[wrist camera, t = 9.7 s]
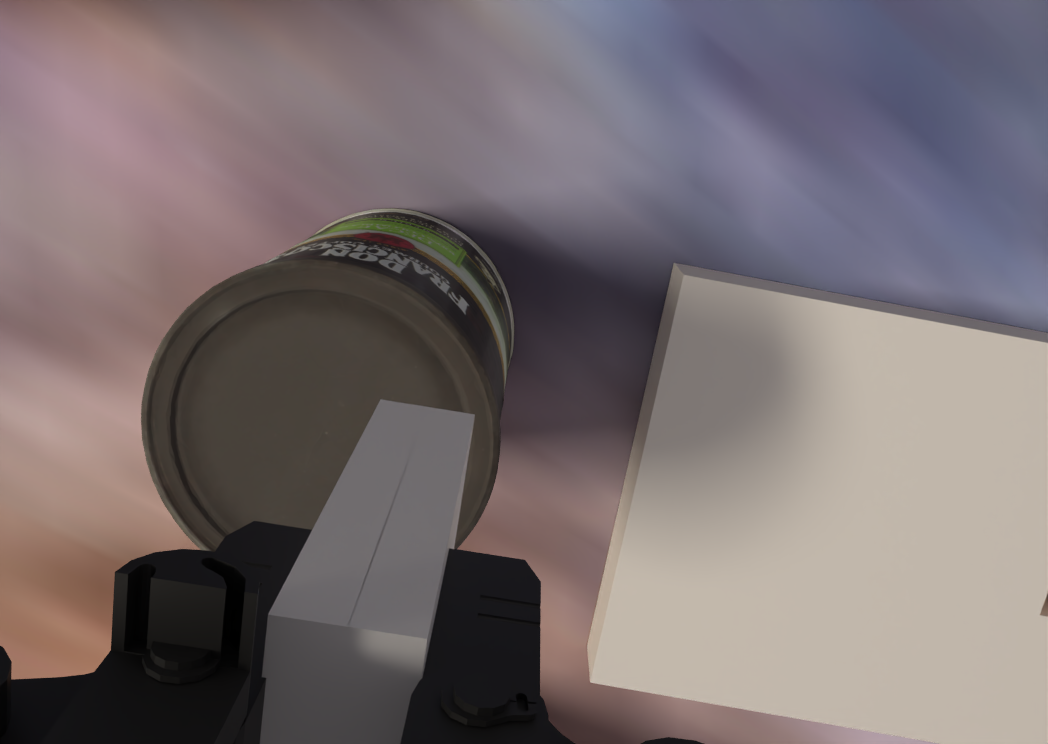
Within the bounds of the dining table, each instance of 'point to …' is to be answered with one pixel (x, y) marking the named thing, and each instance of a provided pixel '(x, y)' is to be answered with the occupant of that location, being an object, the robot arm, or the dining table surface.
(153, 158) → the dining table surface
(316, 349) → the coffee can
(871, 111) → the dining table surface
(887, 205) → the dining table surface
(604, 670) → the hole board
